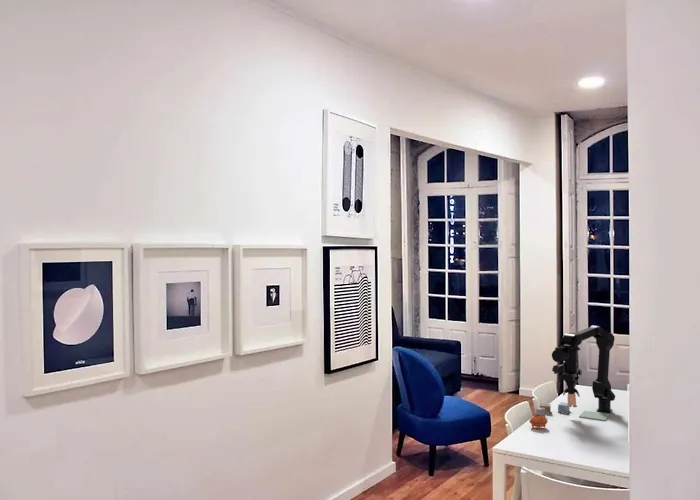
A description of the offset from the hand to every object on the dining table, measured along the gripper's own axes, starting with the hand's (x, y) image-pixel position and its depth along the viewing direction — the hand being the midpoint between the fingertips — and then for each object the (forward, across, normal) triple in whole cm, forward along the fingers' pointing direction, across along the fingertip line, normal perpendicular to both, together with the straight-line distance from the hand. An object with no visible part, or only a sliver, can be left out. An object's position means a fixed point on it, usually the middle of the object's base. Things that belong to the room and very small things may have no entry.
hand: (571, 392), depth 300 cm
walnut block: (+13, -3, -13) cm, 19 cm away
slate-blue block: (+13, -10, -6) cm, 17 cm away
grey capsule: (+12, +6, -13) cm, 19 cm away
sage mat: (+12, -9, +9) cm, 18 cm away
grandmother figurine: (+7, 0, 0) cm, 7 cm away
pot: (+13, +26, -8) cm, 30 cm away
